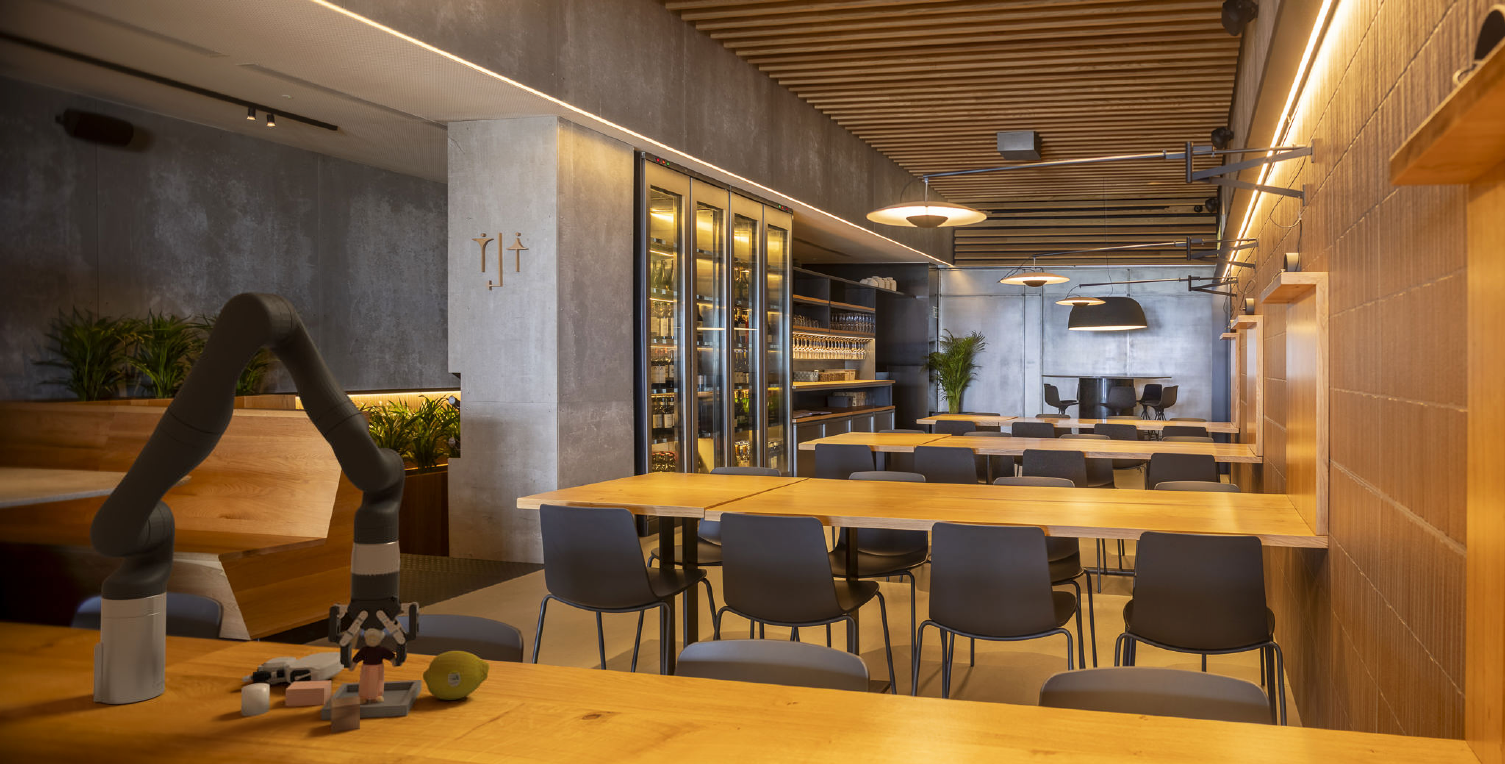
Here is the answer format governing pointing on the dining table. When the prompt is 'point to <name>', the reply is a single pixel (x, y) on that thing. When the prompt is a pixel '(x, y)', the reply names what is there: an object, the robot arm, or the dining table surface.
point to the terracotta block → (308, 693)
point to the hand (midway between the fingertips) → (373, 666)
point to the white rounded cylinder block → (255, 699)
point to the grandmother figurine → (372, 666)
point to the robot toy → (298, 669)
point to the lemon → (455, 674)
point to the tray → (395, 702)
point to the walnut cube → (345, 714)
